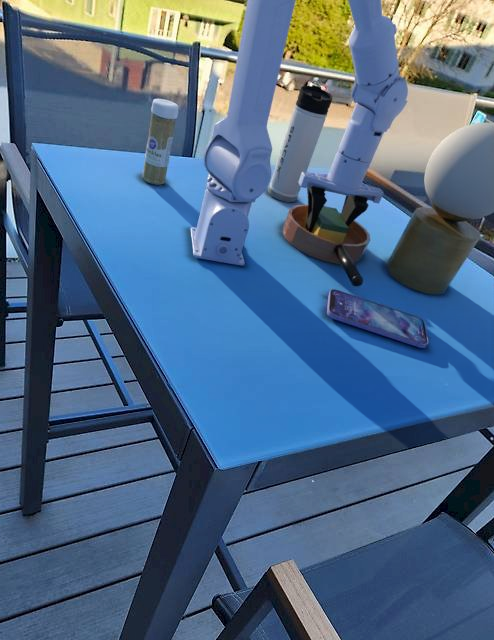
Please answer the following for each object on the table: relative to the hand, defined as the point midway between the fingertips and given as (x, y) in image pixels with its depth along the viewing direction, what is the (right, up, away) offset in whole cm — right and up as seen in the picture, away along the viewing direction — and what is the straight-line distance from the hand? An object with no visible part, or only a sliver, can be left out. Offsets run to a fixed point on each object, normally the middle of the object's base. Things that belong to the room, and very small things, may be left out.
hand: (322, 232), depth 88 cm
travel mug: (-5, +12, +14) cm, 19 cm away
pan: (0, -1, +1) cm, 2 cm away
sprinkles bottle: (-31, +11, +4) cm, 33 cm away
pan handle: (+2, -9, -9) cm, 13 cm away
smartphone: (+4, -18, -16) cm, 24 cm away
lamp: (+17, -7, +1) cm, 19 cm away
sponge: (0, -1, +1) cm, 1 cm away
